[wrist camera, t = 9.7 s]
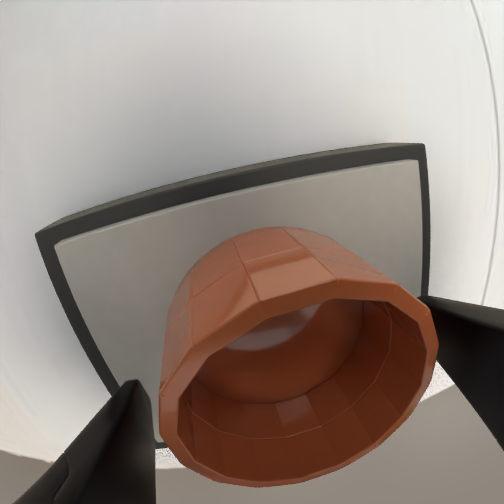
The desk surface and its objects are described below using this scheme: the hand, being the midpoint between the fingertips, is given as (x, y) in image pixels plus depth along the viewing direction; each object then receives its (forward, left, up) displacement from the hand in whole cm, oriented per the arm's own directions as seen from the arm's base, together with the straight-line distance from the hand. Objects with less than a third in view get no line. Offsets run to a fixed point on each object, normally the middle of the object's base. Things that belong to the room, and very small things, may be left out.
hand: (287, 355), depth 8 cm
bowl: (0, 0, -1) cm, 1 cm away
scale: (0, 0, -4) cm, 4 cm away
